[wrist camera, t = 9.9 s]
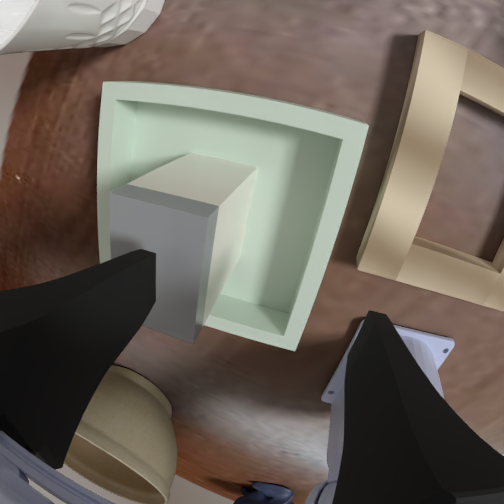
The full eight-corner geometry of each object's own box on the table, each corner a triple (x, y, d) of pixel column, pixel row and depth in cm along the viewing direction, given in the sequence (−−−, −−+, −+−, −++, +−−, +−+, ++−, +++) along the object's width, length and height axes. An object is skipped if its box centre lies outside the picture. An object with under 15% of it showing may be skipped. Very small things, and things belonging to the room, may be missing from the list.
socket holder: (499, 300, 18) (506, 312, 17) (355, 257, 19) (357, 269, 18) (568, 120, 11) (581, 123, 10) (418, 34, 13) (425, 29, 11)
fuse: (239, 259, 21) (193, 344, 14) (181, 242, 21) (115, 314, 14) (257, 166, 18) (208, 217, 11) (191, 152, 18) (109, 193, 11)
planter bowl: (217, 443, 34) (189, 519, 24) (111, 419, 38) (76, 477, 28) (176, 348, 27) (117, 448, 17) (56, 331, 31) (-1, 394, 22)
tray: (300, 322, 23) (295, 351, 20) (123, 268, 24) (102, 288, 21) (362, 121, 16) (368, 125, 13) (131, 80, 17) (103, 81, 15)
